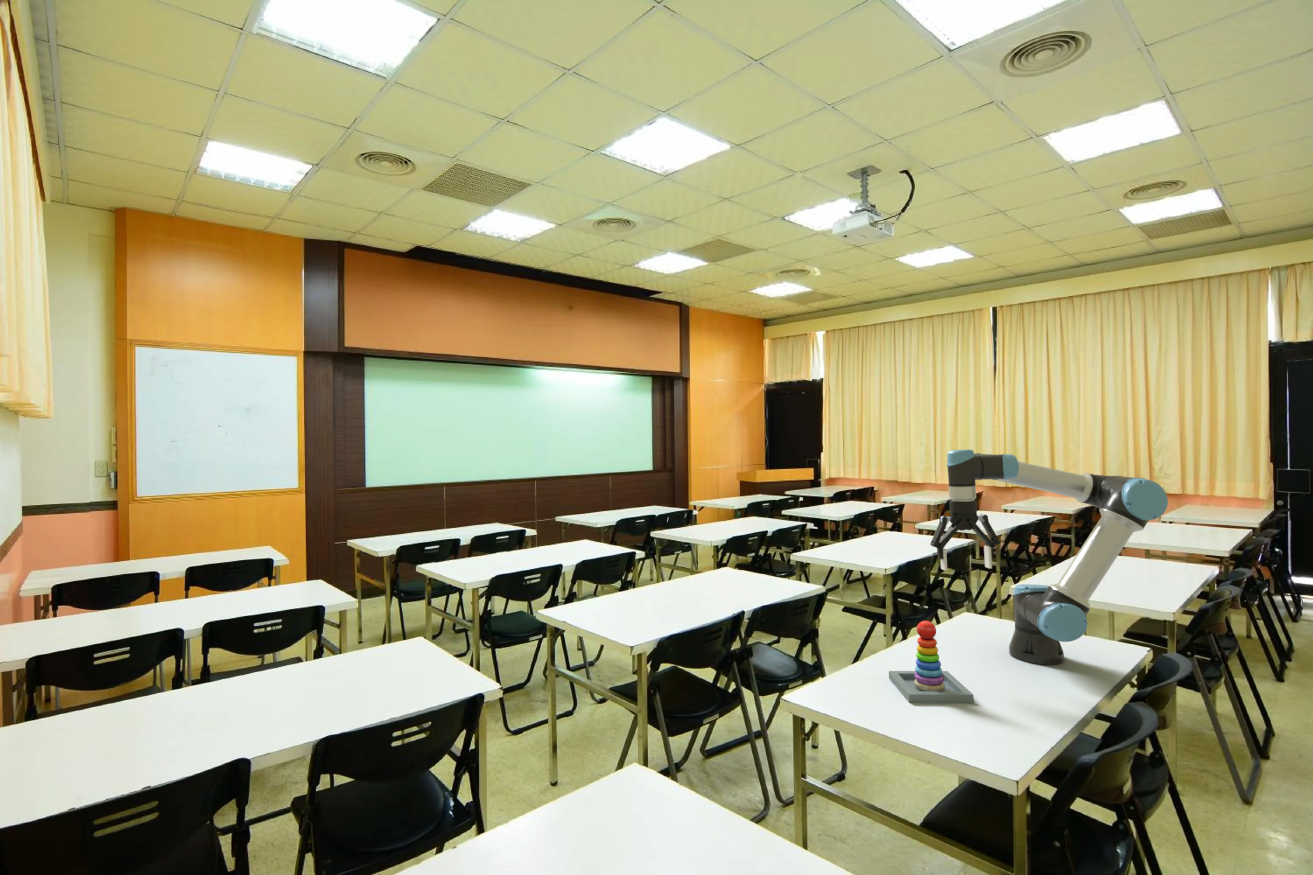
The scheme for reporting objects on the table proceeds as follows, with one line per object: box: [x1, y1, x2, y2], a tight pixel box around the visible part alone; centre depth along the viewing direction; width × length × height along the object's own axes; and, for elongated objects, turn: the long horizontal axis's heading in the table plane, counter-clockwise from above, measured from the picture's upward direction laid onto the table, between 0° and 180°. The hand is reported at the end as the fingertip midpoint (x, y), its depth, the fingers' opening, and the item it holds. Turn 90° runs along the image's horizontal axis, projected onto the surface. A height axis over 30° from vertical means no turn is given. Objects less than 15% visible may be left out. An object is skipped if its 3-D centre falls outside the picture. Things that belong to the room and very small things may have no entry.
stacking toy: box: [914, 620, 945, 692], centre depth 175 cm, size 8×8×19 cm
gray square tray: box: [888, 670, 975, 704], centre depth 175 cm, size 17×17×2 cm
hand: (966, 568), depth 191 cm, fingers open, 13 cm apart
